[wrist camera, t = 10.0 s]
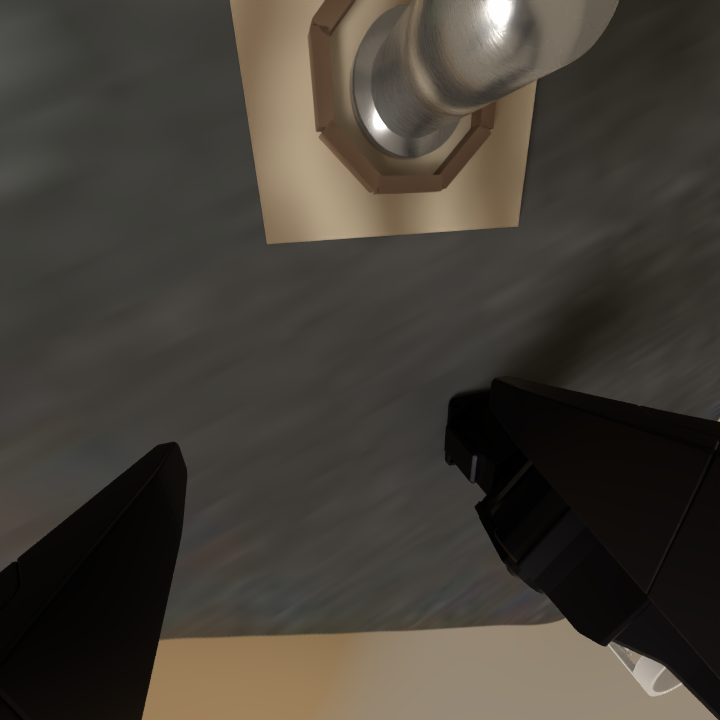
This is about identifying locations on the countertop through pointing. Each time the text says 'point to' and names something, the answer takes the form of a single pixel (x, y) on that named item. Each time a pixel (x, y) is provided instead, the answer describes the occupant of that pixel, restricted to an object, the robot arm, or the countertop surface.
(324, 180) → the maple board
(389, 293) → the countertop surface
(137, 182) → the countertop surface
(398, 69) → the aluminium hub pin
